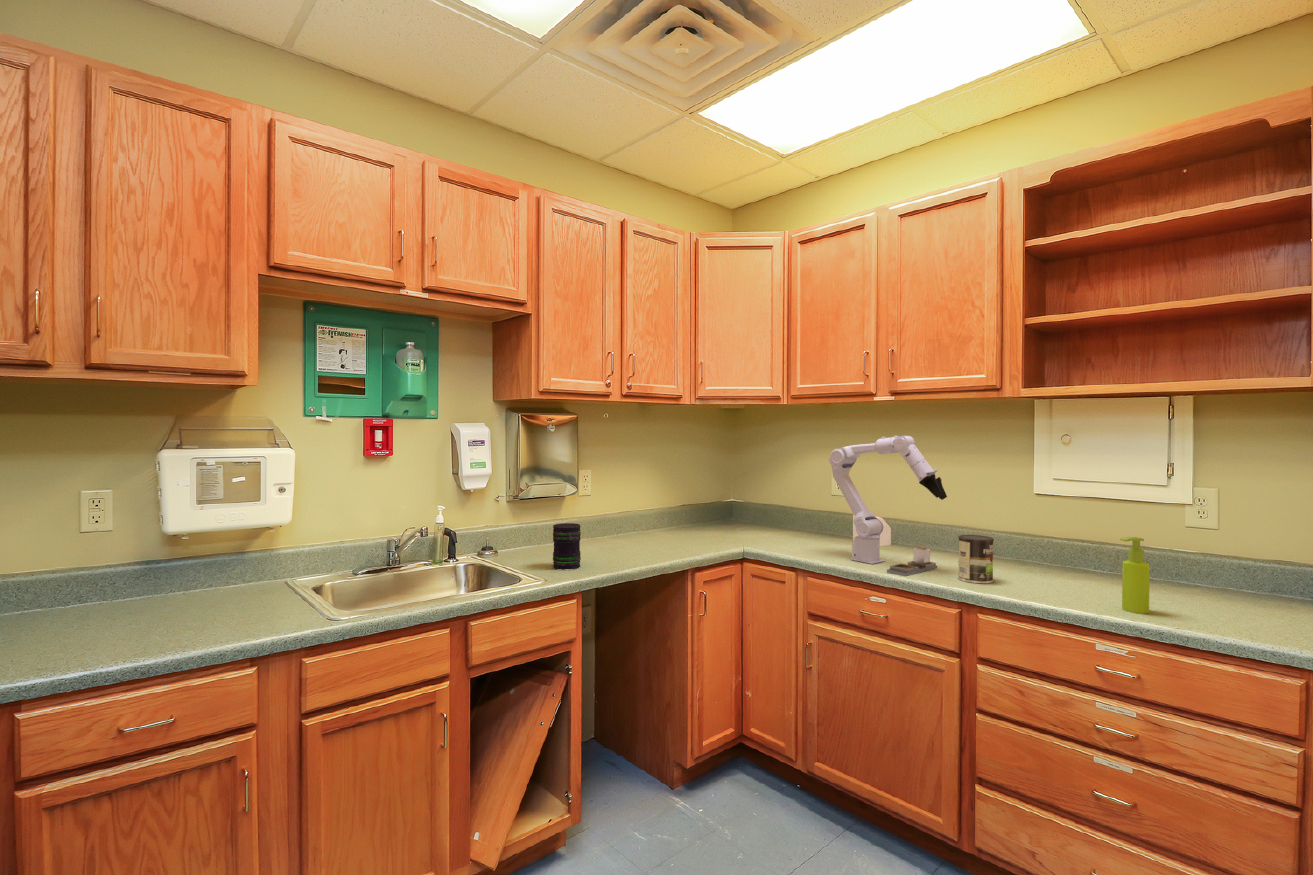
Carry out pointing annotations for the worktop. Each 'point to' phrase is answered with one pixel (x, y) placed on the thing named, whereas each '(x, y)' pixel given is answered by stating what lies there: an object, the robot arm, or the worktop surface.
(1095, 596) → the worktop surface
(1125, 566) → the soap dispenser
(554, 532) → the storage jar
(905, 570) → the rail
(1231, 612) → the worktop surface
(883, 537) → the corner bracket
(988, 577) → the coffee can
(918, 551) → the block
